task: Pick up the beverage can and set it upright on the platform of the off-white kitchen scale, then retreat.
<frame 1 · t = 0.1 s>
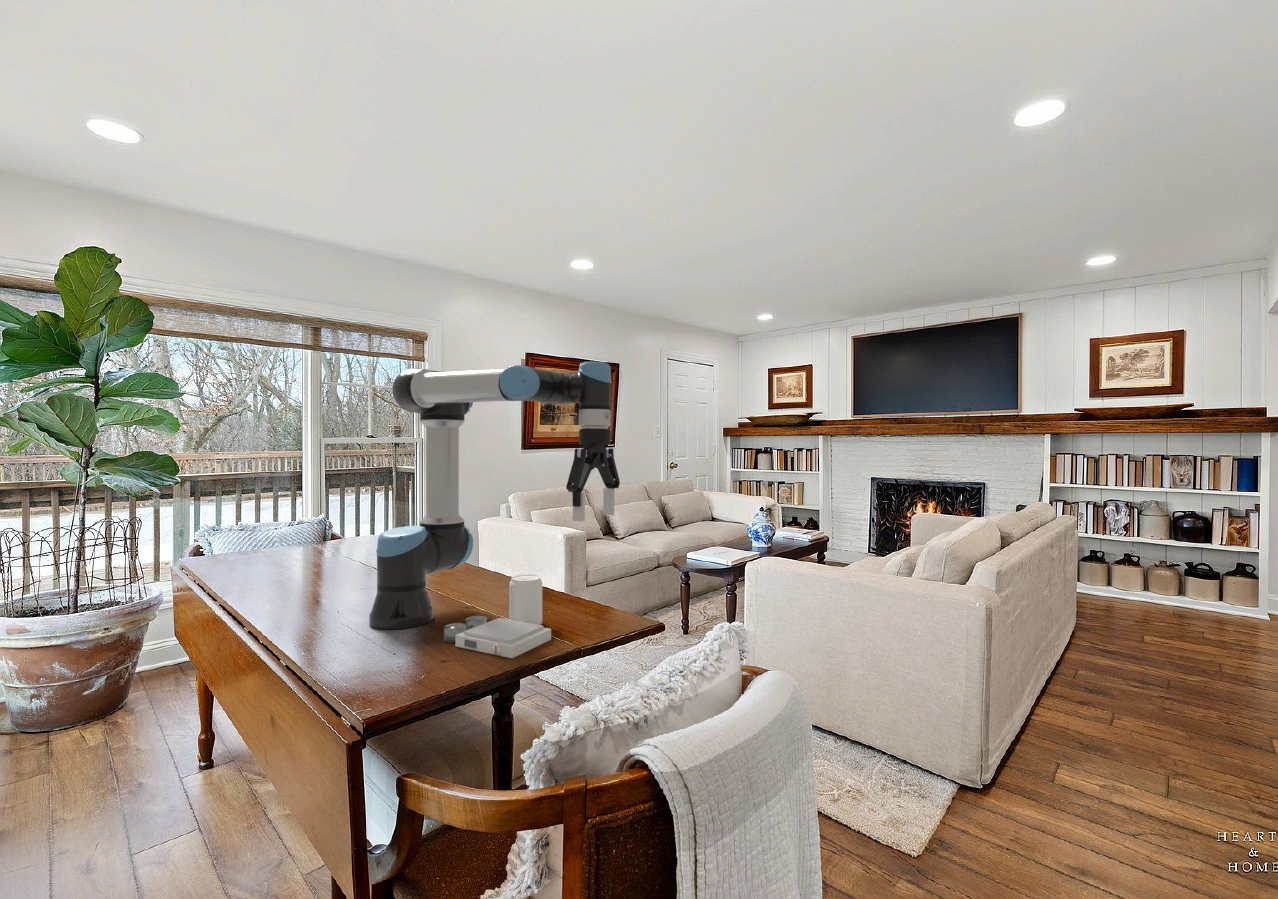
hand: (594, 518, 144), 28 cm above the table, fingers open, 13 cm apart
scale: (504, 642, 138), on the table
spacer a: (455, 639, 141), on the table
spacer b: (476, 631, 147), on the table
beverage can: (525, 626, 152), on the table
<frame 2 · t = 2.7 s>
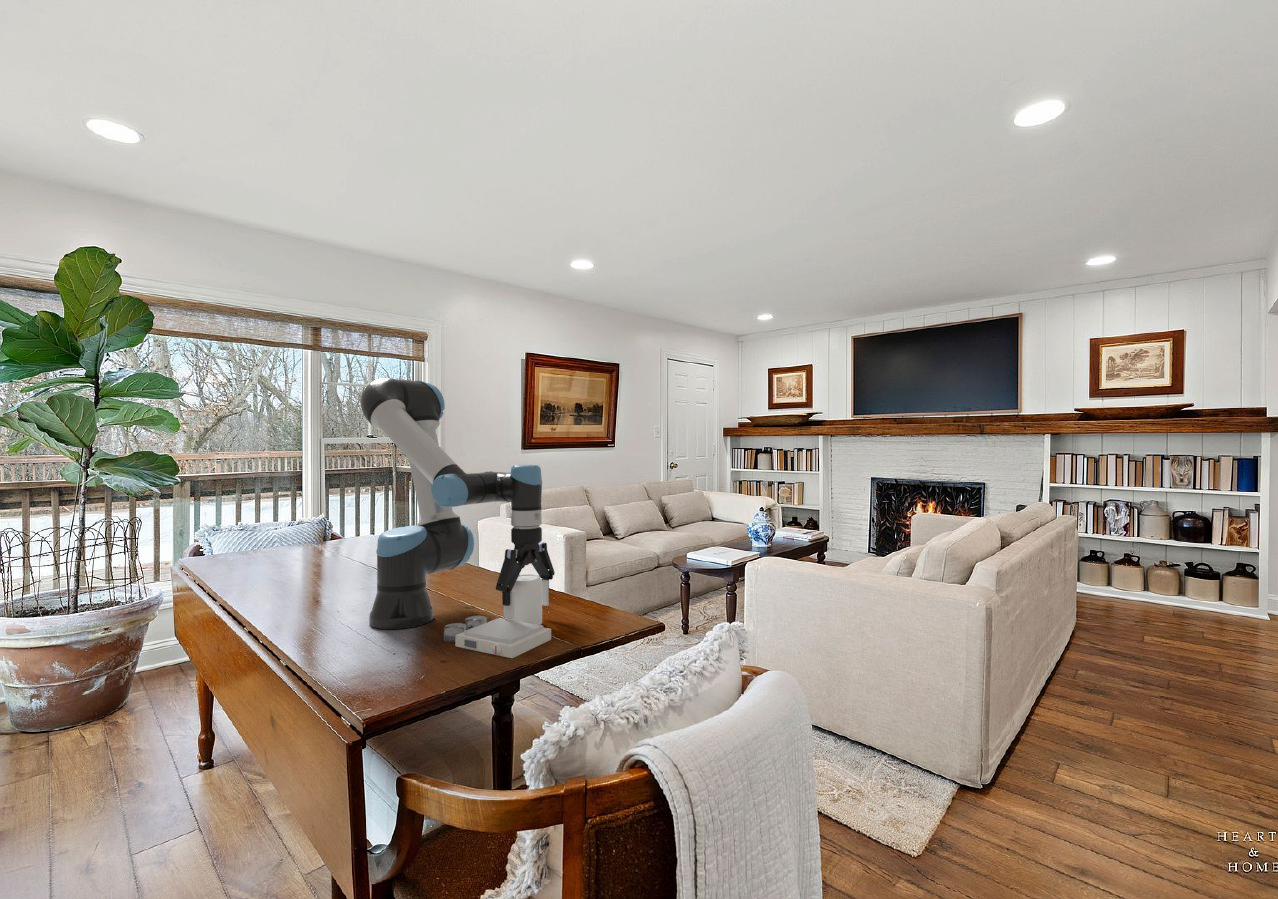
hand: (526, 612, 152), 3 cm above the table, fingers open, 13 cm apart
nothing on the table moved.
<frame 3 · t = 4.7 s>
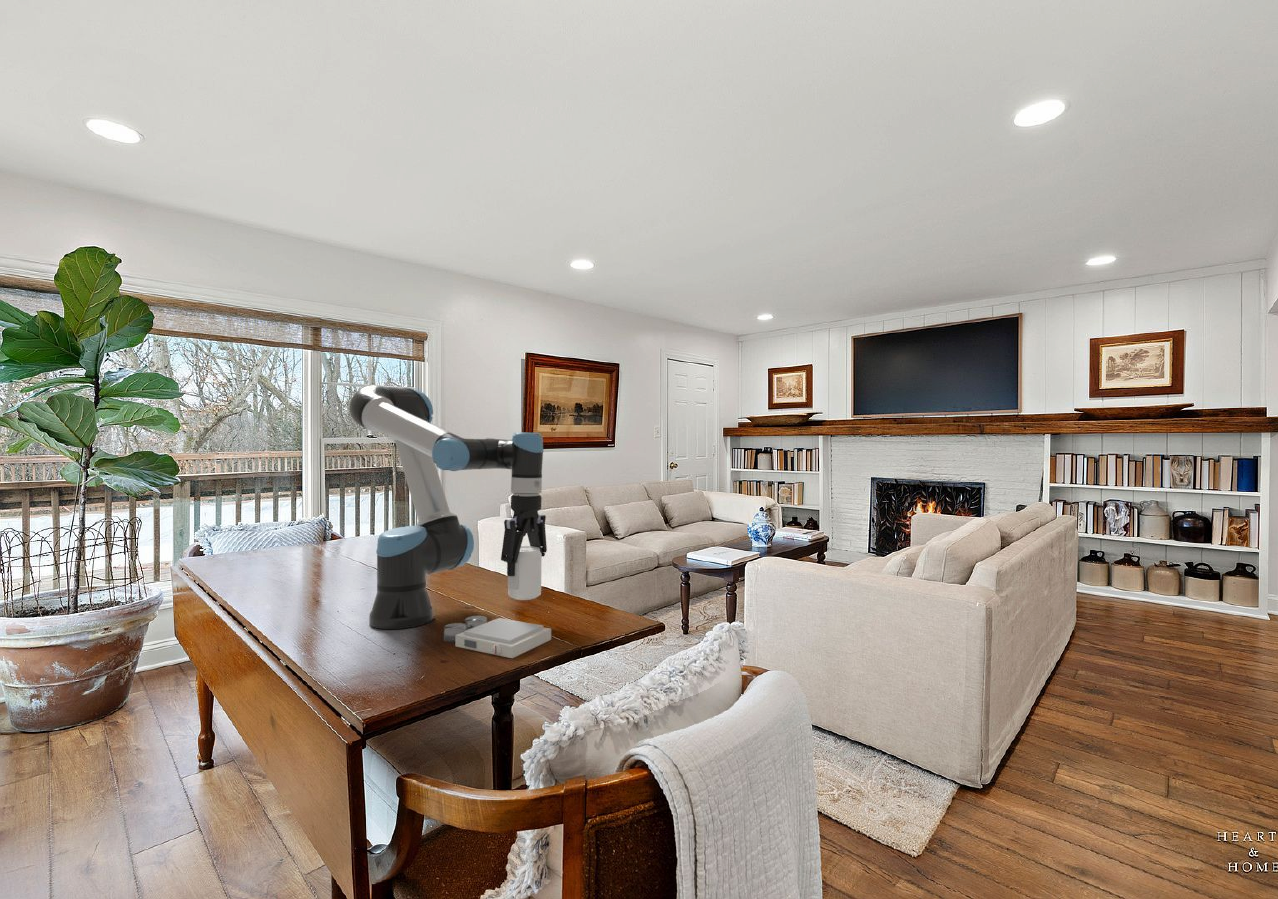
hand: (523, 585, 152), 10 cm above the table, fingers closed on beverage can, 8 cm apart
beverage can: (524, 597, 152), point 7 cm above the table, touching gripper
everything else where it was.
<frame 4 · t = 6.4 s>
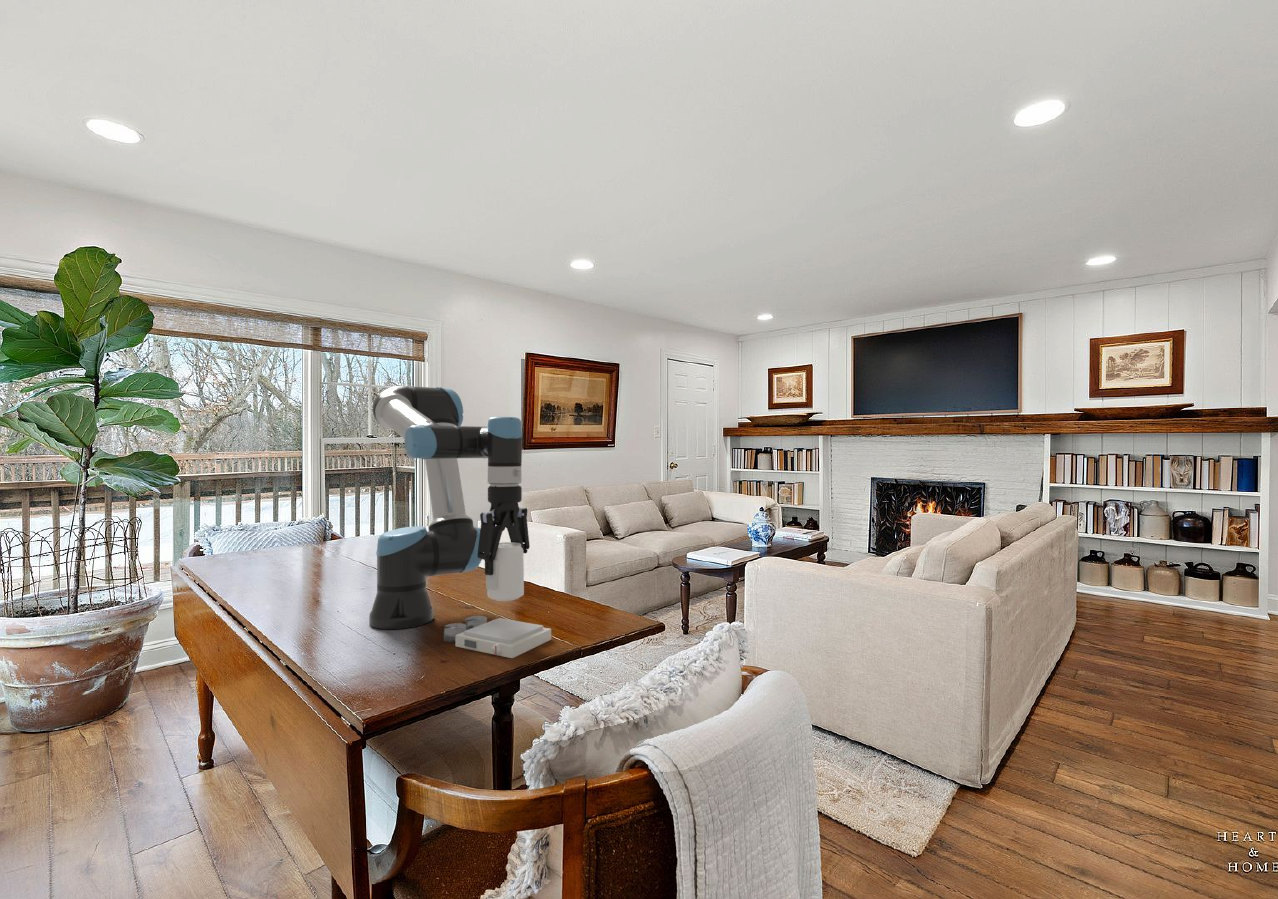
hand: (504, 585, 138), 13 cm above the table, fingers closed on beverage can, 8 cm apart
beverage can: (505, 598, 138), point 10 cm above the table, touching gripper
everything else where it was.
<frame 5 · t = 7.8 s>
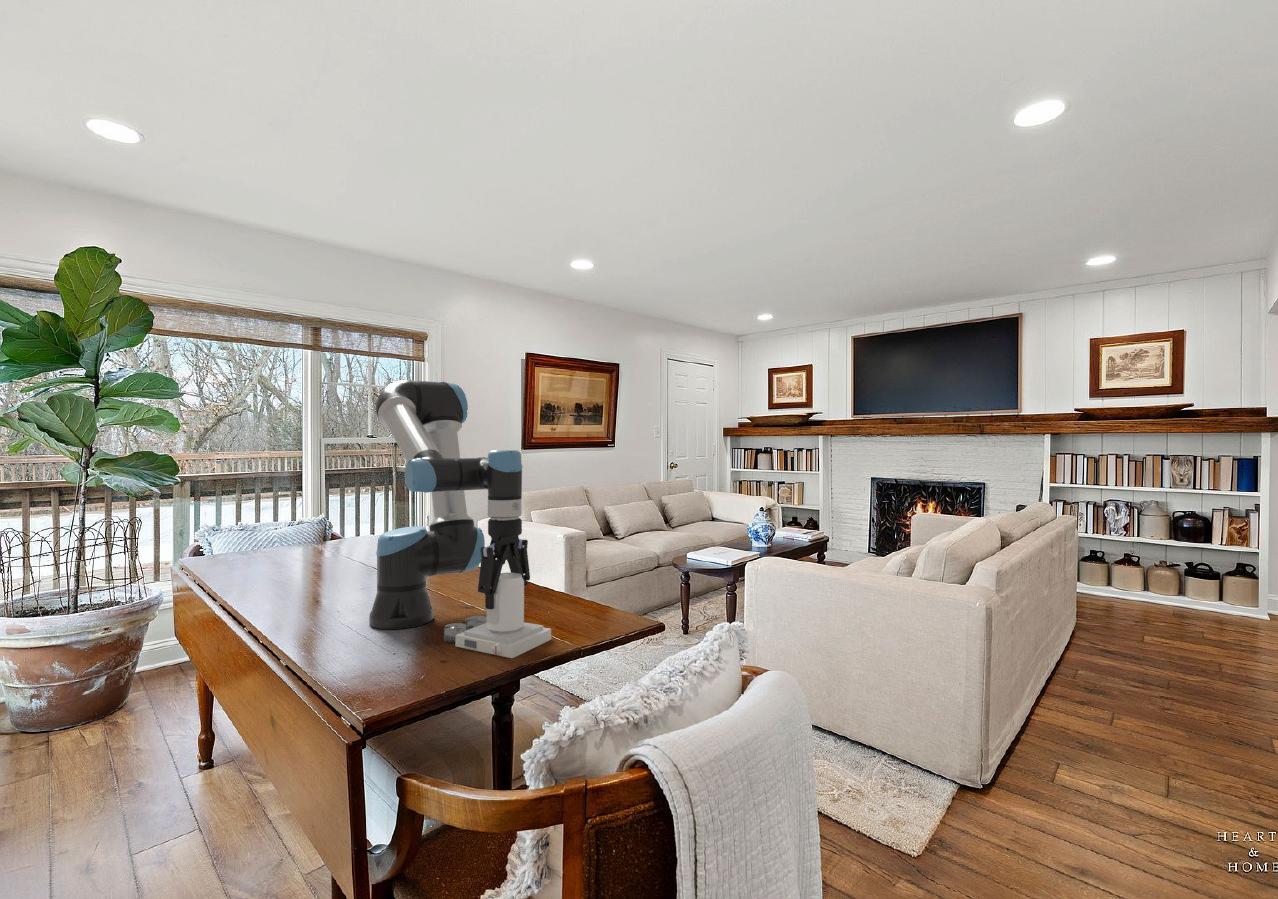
hand: (505, 617, 138), 6 cm above the table, fingers closed on beverage can, 8 cm apart
beverage can: (505, 629, 138), point 3 cm above the table, touching gripper, scale
everything else where it was.
when the fingers open (6 cm above the table, at t = 8.5 s): beverage can stays where it is, resting on scale.
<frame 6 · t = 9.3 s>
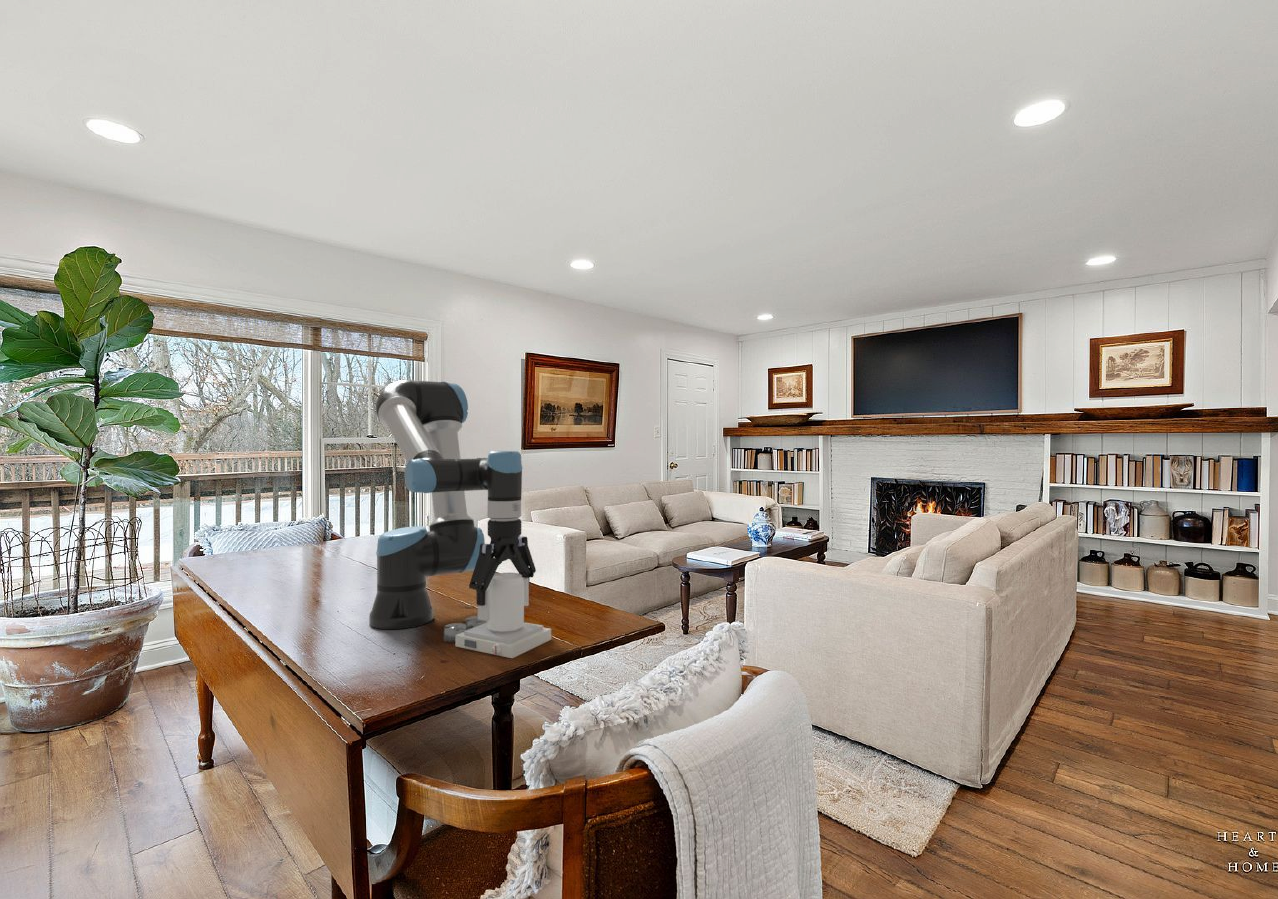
hand: (504, 612, 138), 7 cm above the table, fingers open, 13 cm apart
beverage can: (505, 629, 138), point 3 cm above the table, touching scale
everything else where it was.
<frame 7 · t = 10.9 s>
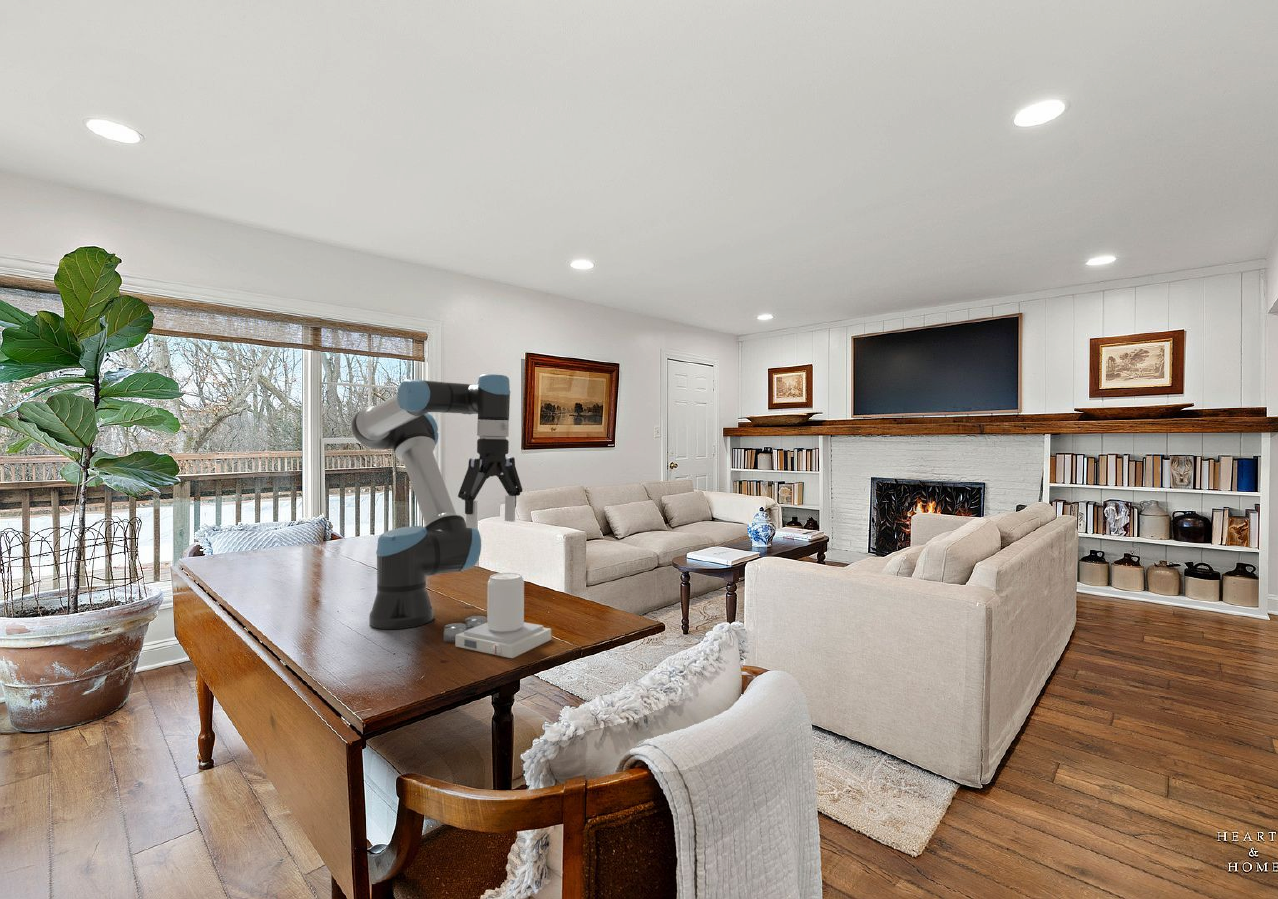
hand: (491, 524, 149), 25 cm above the table, fingers open, 13 cm apart
nothing on the table moved.
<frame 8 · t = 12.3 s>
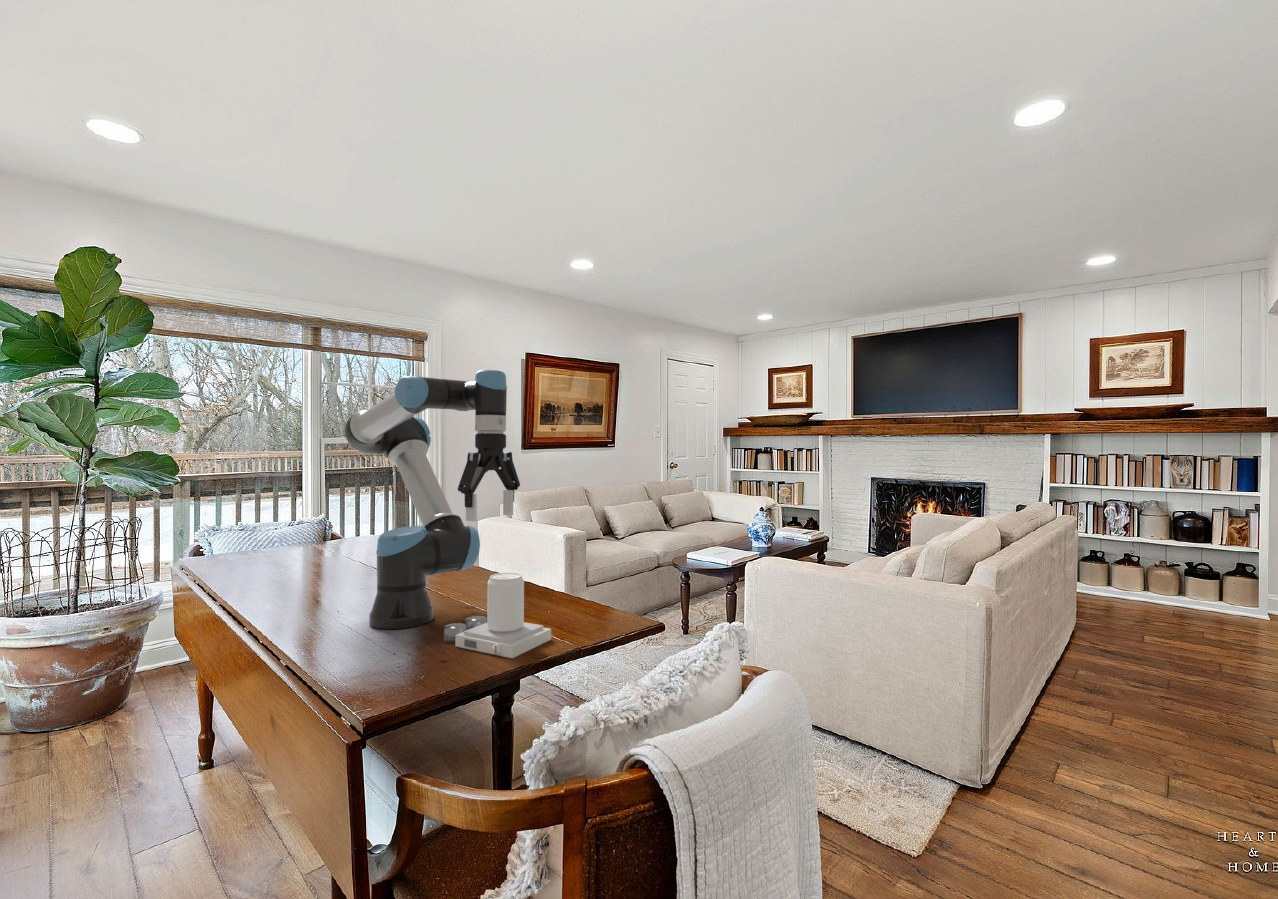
hand: (490, 518, 152), 27 cm above the table, fingers open, 13 cm apart
nothing on the table moved.
at the end: beverage can inside the target area on the scale (0.3 cm from its centre), point 3.1 cm above the scale's base; beverage can tilted 0°; the gripper is holding nothing; beverage can touching scale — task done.
